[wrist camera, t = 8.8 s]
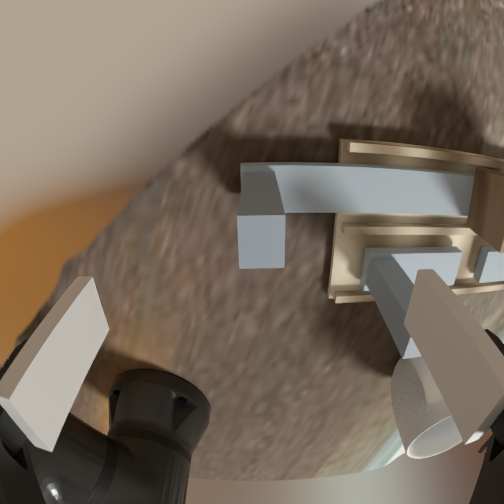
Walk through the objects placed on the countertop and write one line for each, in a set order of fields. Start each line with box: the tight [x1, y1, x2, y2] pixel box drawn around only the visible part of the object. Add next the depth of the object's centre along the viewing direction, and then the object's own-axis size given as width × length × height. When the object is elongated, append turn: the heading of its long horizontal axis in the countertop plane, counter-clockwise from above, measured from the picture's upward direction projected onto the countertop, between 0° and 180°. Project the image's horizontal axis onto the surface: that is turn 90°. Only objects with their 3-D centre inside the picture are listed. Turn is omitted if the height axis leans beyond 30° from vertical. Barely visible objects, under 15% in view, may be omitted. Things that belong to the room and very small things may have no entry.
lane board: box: [327, 139, 504, 303], centre depth 28 cm, size 34×16×2 cm, turn 91°
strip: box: [237, 162, 475, 269], centre depth 21 cm, size 30×4×11 cm, turn 91°
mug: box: [391, 356, 463, 458], centre depth 32 cm, size 15×11×13 cm
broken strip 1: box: [360, 246, 463, 359], centre depth 25 cm, size 11×4×11 cm, turn 91°
